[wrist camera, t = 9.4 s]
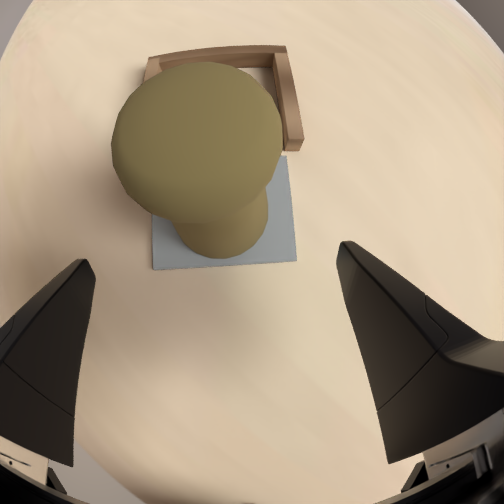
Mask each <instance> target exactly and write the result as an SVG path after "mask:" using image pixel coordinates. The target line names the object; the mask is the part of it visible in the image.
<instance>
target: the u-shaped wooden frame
mask: <svg viewBox="0 0 504 504" xmlns="http://www.w3.org/2000/svg"><path fill="white" fill-rule="evenodd" d="M194 62H215V63H220V64H226V65H231V66H233V67H235V68H244V67H273V73H274V79H275V86H276V92H277V98H278V105H279V112H280V117H281V122H282V133H283V141H284V149H285V151H299V150H300V148H301V145H302V143H303V141H304V134H303V128H302V122H301V117H300V111H299V106H298V101H297V96H296V91H295V86H294V81H293V76H292V72H291V67H290V63H289V58H288V54H287V50H286V46H274V45H249V46H226V47H214V48H204V49H195V50H188V51H181V52H174V53H169V54H163V55H158V56H153V57H149V58H148V62H147V67H146V71H145V76H144V81H143V83H144V82H145V81H146V80H148V79H150V78H151V77H153V76H155V75H157V74H158V73H160V72H162V71H164V70H166V69H169V68H172V67H175V66H179V65H182V64H186V63H194Z"/></svg>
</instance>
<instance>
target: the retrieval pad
mask: <svg viewBox="0 0 504 504" xmlns="http://www.w3.org/2000/svg"><path fill="white" fill-rule="evenodd" d="M266 194H267V200H268V221H267V224H266V227H265V230H264V232H263V234H262V236H261V237H260V238H259V240H258V241H257V242H256V243H255V245H254V246H253V247H251V248H250V249H248V250H247V251H245V252H244V253H242V254H241V255H238V256H234V257H231V258H227V259H211V258H208V257H205V256H202V255H200V254H197V253H195V252H194V251H193V250H191V249H190V248H189V247H188V246H187V245H185V244H184V242H183V241H182V239H181V238H180V236H179V234H178V233H177V231H176V229H175V228H174V226H173V224H172V222H171V221H170V220H167V219H164V218H162V217H159V216H156V215H153V214H152V250H153V270H165V269H183V268H200V267H216V266H231V265H247V264H262V263H276V262H290V261H297V255H296V243H295V232H294V221H293V211H292V201H291V191H290V182H289V174H288V165H287V157H286V156H280V158H279V161H278V163H277V166H276V169H275V172H274V174H273V177H272V180H271V181H270V182H269V183H268V185H267V186H266Z"/></svg>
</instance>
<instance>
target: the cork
mask: <svg viewBox="0 0 504 504" xmlns="http://www.w3.org/2000/svg"><path fill="white" fill-rule="evenodd" d="M111 148H112V159H113V166H114V168H115V171H116V173H117V175H118V177H119V179H120V181H121V183H122V185H123V187H124V189H125V190H126V192H127V194H128V195H129V196H130V197H131V198H132V199H134V200H135V201H136V202H137V203H138V204H140V205H141V206H142V207H143V208H144V209H146V210H147V211H148V212H150V213H151V214H153V215H156V216H159V217H162V218H164V219H167V220H170V221H171V222H172V224H173V226H174V228H175V229H176V231H177V233H178V234H179V236H180V238H181V239H182V241H183V242H184V244H185V245H187V246H188V247H189V248H190V249H191V250H193V251H194V252H195V253H197V254H200V255H202V256H205V257H208V258H211V259H227V258H231V257H234V256H238V255H241V254H242V253H244V252H245V251H247V250H248V249H250V248H251V247H253V246H254V245H255V243H256V242H257V241H258V240H259V238H260V237H261V236H262V234H263V232H264V230H265V227H266V224H267V221H268V200H267V194H266V186H267V185H268V183H269V182H270V181H271V180H272V177H273V174H274V172H275V169H276V166H277V163H278V161H279V158H280V155H281V152H282V149H283V136H282V122H281V117H280V114H279V112H278V110H277V107H276V105H275V103H274V101H273V98H272V96H271V95H270V94H269V93H268V92H267V91H266V90H265V89H264V88H263V87H262V86H261V85H260V84H259V83H258V82H257V81H256V80H255V79H254V78H253V77H252V76H251V75H249V74H247V73H245V72H243V71H241V70H239V69H237V68H235V67H233V66H231V65H226V64H220V63H215V62H194V63H186V64H182V65H179V66H175V67H172V68H169V69H166V70H164V71H162V72H160V73H158V74H157V75H155V76H153V77H151V78H150V79H148V80H146V81H145V82H144V83H143V84H142V85H141V86H140V87H139V88H137V89H136V90H135V91H134V92H133V93H132V94H131V95H130V96H129V98H128V99H127V101H126V103H125V104H124V106H123V107H122V109H121V111H120V112H119V114H118V117H117V121H116V124H115V128H114V132H113V136H112V142H111Z"/></svg>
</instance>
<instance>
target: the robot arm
mask: <svg viewBox="0 0 504 504" xmlns="http://www.w3.org/2000/svg"><path fill="white" fill-rule="evenodd" d="M336 265H337V270H338V274H339V279H340V283H341V287H342V292H343V296H344V301H345V304H346V308H347V311H348V314H349V317H350V320H351V323H352V326H353V329H354V332H355V335H356V339H357V342H358V345H359V348H360V352H361V355H362V358H363V362H364V365H365V369H366V372H367V376H368V379H369V383H370V387H371V390H372V394H373V398H374V402H375V406H376V410H377V415H378V419H379V423H380V428H381V432H382V437H383V441H384V446H385V451H386V456H387V461H388V464H391V463H394V462H397V461H400V460H403V459H406V458H408V457H411V456H414V455H416V454H419V453H421V452H423V456H424V460H423V461H421V462H419V463H417V464H416V466H415V467H414V469H413V471H412V473H411V475H410V476H409V478H408V480H407V481H406V483H405V485H404V486H403V488H402V490H401V494H398V495H396V496H393V497H391V498H388V499H386V500H383V501H380V502H378V503H375V504H504V341H494V340H491V339H488V338H486V337H484V336H482V335H481V334H479V333H478V332H476V331H475V330H474V329H472V328H471V327H470V326H468V325H467V324H465V323H464V322H462V321H461V320H460V319H458V318H457V317H455V316H454V315H453V314H451V313H450V312H448V311H447V310H446V309H444V308H443V307H442V306H440V305H439V304H438V303H436V302H435V301H434V300H433V299H431V298H430V297H429V296H428V295H425V293H424V292H422V291H421V290H420V289H418V288H417V287H416V286H415V285H413V284H412V283H411V282H409V281H408V280H407V279H405V278H404V277H403V276H401V275H400V274H399V273H397V272H396V271H394V270H393V269H392V268H390V267H389V266H388V265H386V264H385V263H383V262H382V261H381V260H379V259H378V258H376V257H375V256H374V255H372V254H371V253H369V252H368V251H366V250H365V249H364V248H362V247H361V246H359V245H358V244H356V243H355V242H353V241H342V242H341V243H340V246H339V251H338V255H337V260H336ZM95 282H96V278H95V274H94V272H93V270H92V268H91V266H90V264H89V262H88V260H87V259H77V260H75V261H74V262H73V263H71V264H70V265H69V266H68V267H67V268H65V269H64V270H63V271H62V272H61V273H59V274H58V275H57V276H56V277H55V278H53V279H52V280H51V281H50V282H49V283H48V284H47V285H45V286H44V287H43V288H42V289H41V290H40V291H39V292H38V293H36V294H35V295H34V296H33V297H32V298H31V299H30V300H29V301H28V302H27V303H26V304H25V305H24V306H22V307H21V308H20V309H19V310H18V311H17V312H16V313H15V315H13V316H12V317H11V318H10V319H9V320H8V321H7V322H6V323H5V324H4V325H3V326H2V327H1V328H0V504H88V503H85V502H83V501H80V500H77V499H75V498H73V497H70V496H68V495H67V492H66V491H65V489H64V488H63V486H62V484H61V483H60V481H59V479H58V478H57V476H56V474H55V473H54V471H53V469H52V468H50V467H48V462H49V459H51V460H53V461H56V462H59V463H61V464H64V465H67V466H70V467H73V443H74V420H75V418H74V417H75V406H76V396H77V387H78V379H79V372H80V366H81V359H82V354H83V348H84V343H85V338H86V333H87V328H88V324H89V319H90V313H91V307H92V300H93V294H94V288H95Z"/></svg>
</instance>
